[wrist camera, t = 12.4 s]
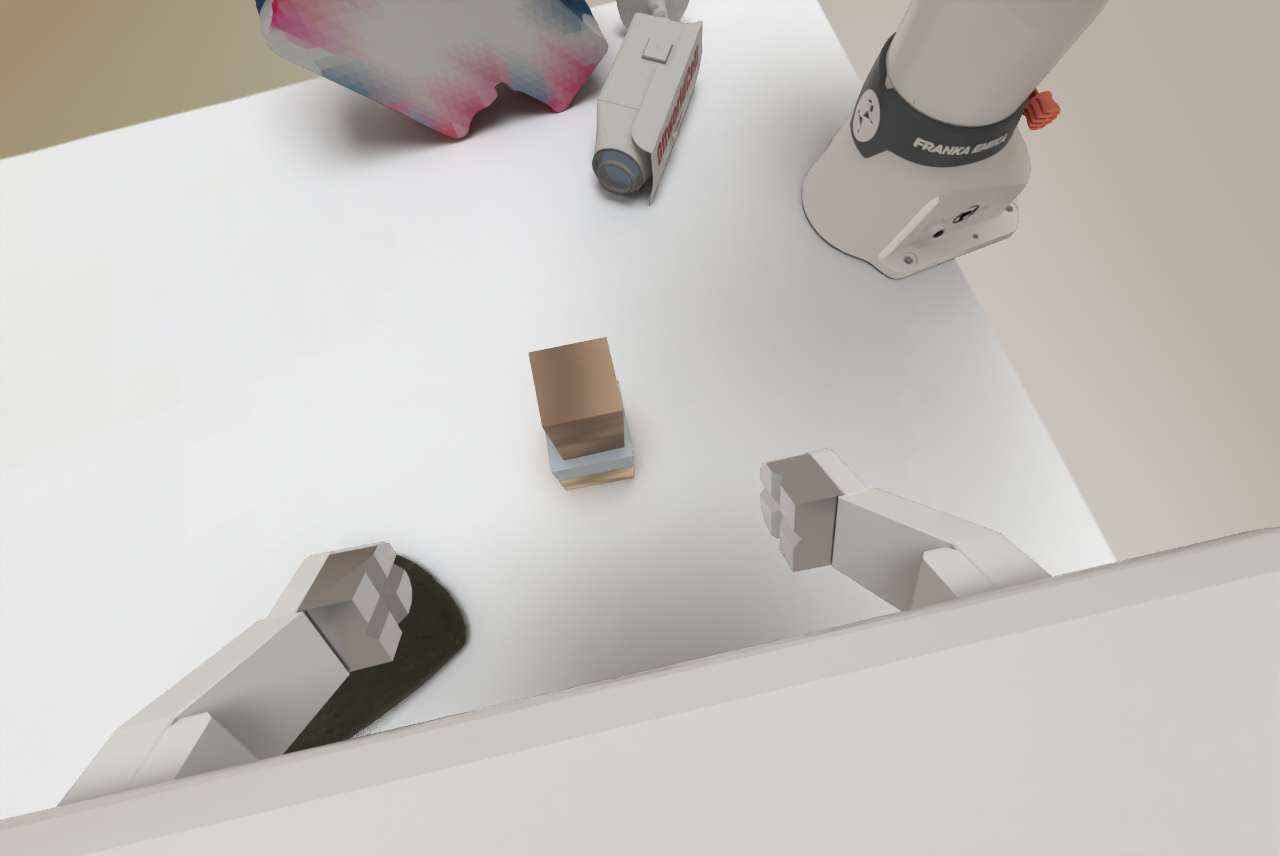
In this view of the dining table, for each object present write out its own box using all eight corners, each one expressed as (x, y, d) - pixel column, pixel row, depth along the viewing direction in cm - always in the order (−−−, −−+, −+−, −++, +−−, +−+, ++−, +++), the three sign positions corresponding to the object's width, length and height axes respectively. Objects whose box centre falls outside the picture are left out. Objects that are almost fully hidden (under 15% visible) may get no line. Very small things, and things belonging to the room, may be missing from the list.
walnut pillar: (611, 390, 36) (606, 336, 27) (624, 447, 35) (623, 410, 26) (552, 403, 36) (528, 352, 27) (563, 460, 35) (542, 427, 26)
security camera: (594, 159, 43) (756, 130, 44) (549, -37, 49) (692, -58, 49) (601, 220, 51) (738, 196, 52) (562, 46, 57) (685, 26, 57)
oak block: (621, 414, 44) (621, 400, 40) (633, 477, 42) (634, 469, 39) (557, 425, 44) (550, 412, 40) (566, 490, 42) (560, 482, 38)
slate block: (619, 397, 40) (618, 380, 36) (633, 466, 39) (633, 456, 35) (548, 411, 40) (539, 394, 36) (559, 481, 38) (551, 472, 34)
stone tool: (294, 852, 32) (135, 811, 28) (303, 758, 40) (178, 712, 35) (486, 631, 37) (378, 563, 32) (462, 582, 44) (371, 520, 39)
